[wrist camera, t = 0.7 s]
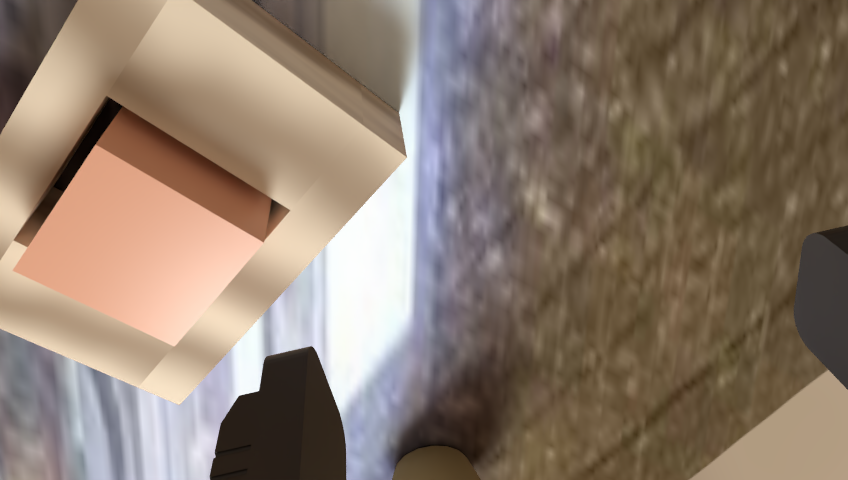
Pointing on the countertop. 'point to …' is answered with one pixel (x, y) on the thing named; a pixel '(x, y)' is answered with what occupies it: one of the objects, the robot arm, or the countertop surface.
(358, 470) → the countertop surface
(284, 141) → the button housing
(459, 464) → the squeeze bottle
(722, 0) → the countertop surface
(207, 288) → the button
